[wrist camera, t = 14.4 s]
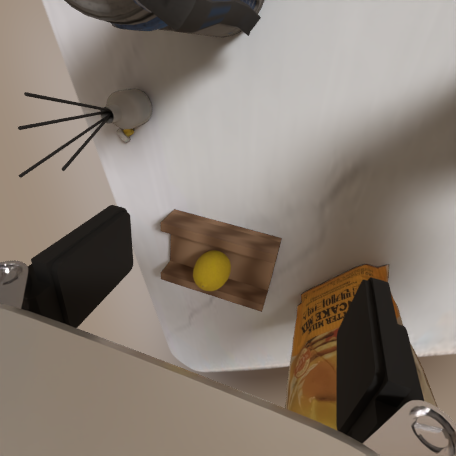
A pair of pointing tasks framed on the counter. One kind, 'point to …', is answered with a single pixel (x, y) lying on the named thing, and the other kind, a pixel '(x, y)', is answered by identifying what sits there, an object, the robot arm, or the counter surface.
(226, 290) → the u rest
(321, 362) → the pancake mix bag
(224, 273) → the lemon
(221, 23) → the beverage bottle
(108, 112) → the reed diffuser
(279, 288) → the counter surface
